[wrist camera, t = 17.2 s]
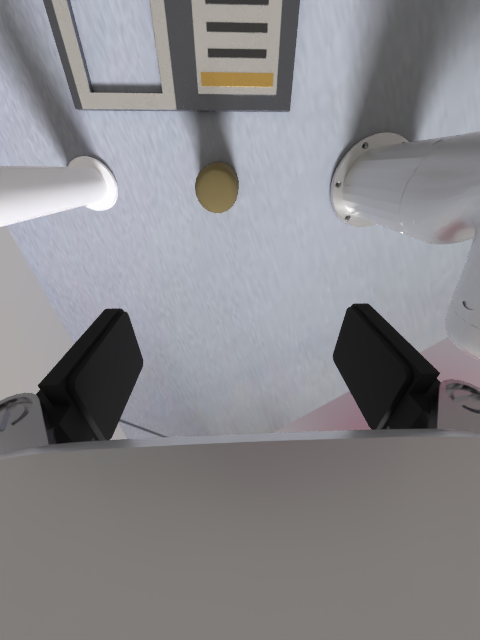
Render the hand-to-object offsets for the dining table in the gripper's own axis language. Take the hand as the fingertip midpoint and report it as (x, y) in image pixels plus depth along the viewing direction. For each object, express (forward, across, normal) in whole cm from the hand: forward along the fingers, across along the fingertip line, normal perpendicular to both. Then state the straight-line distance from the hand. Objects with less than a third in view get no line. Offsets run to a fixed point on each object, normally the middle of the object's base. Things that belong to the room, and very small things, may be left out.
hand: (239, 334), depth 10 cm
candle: (+34, +21, -4) cm, 40 cm away
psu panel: (+33, +6, -18) cm, 39 cm away
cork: (+34, +2, -4) cm, 34 cm away
